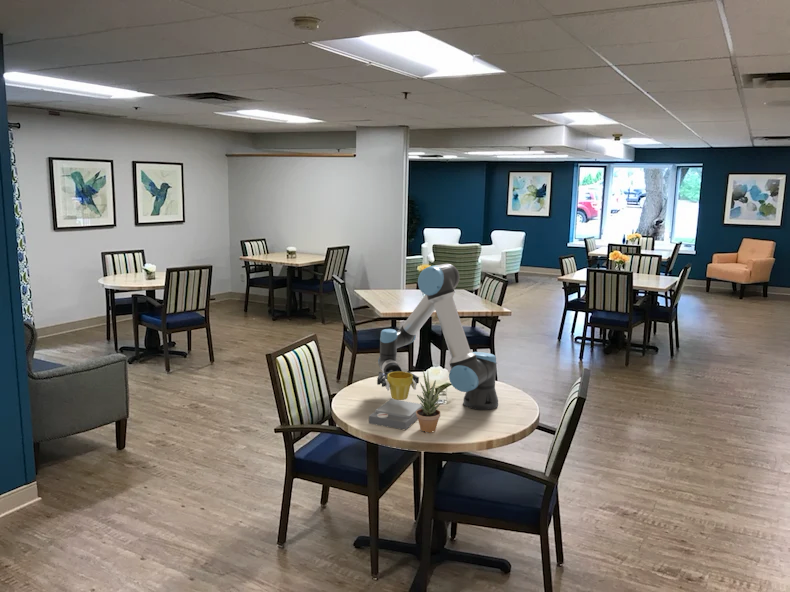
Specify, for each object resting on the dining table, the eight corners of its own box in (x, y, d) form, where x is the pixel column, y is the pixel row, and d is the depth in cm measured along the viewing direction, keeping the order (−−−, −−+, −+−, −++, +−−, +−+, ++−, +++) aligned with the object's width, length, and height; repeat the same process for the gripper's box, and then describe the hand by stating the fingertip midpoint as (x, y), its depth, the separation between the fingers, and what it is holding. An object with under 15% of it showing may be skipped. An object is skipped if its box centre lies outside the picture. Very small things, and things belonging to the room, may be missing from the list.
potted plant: (414, 425, 253) (416, 365, 249) (438, 425, 254) (440, 365, 249) (417, 435, 243) (418, 373, 239) (441, 434, 244) (443, 373, 239)
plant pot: (388, 392, 267) (389, 370, 265) (413, 394, 265) (414, 371, 264) (385, 400, 257) (385, 377, 255) (410, 402, 255) (411, 379, 253)
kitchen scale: (424, 413, 266) (424, 404, 265) (405, 430, 248) (405, 420, 247) (389, 407, 272) (389, 398, 272) (368, 423, 254) (368, 413, 254)
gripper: (416, 377, 280) (428, 394, 259) (365, 379, 276) (373, 396, 254) (417, 361, 279) (429, 377, 257) (366, 362, 274) (374, 378, 253)
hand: (401, 386), depth 256 cm, fingers closed on plant pot, 10 cm apart
